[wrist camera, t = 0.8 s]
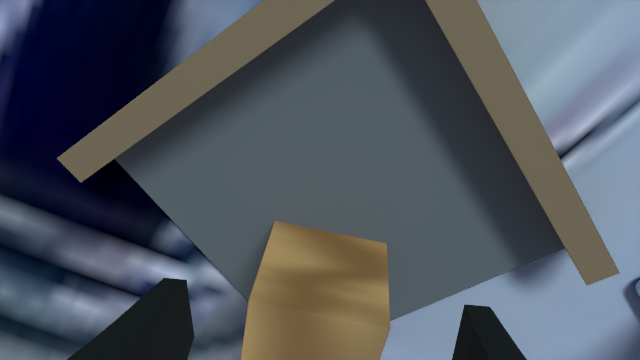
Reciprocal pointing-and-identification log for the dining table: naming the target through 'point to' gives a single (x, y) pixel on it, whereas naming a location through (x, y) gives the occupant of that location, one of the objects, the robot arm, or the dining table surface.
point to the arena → (354, 146)
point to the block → (318, 298)
